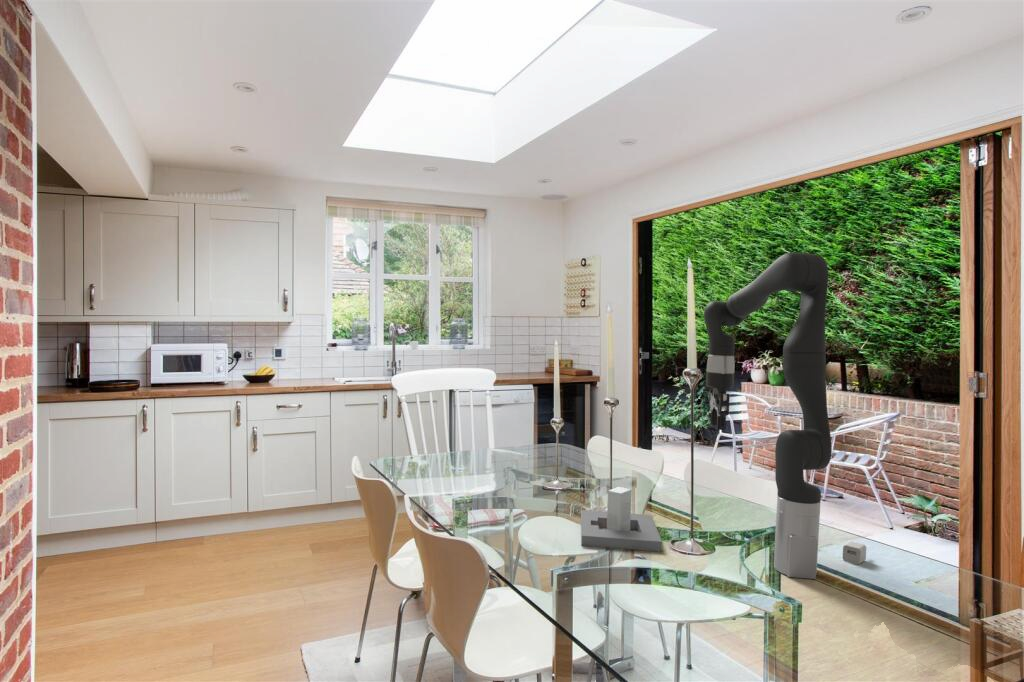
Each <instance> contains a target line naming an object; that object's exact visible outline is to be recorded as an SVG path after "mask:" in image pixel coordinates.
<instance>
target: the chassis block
mask: <svg viewBox="0 0 1024 682" xmlns="http://www.w3.org/2000/svg"><path fill="white" fill-rule="evenodd" d="M580 511H581V512H580V539H581V540H580V542H581V544H580V545H581V546H584V547H586V546H587V547H598V548H600V547H601V548H612V549H623V550H624V549H625V550H635V551H636V550H638V551H647V552H648V551H649V552H660V553H661V552H662V551H663V550H662V549H663V541H662V538H661V536H660V533H659V530H658V528H657V525H656V522H655V520H654V517H653V514H643V513H631V517H630V531H617V530H607V529H601V528H600V527H603V528H607V511H601V510H589V509H588V510H587V509H581V510H580ZM631 530H637V531H631Z"/></svg>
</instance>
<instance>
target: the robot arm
mask: <svg viewBox="0 0 1024 682" xmlns="http://www.w3.org/2000/svg"><path fill="white" fill-rule="evenodd" d="M828 284H829V269H828V263H827V261H826V259H825V258H824V257H823V256H822V255H820V254H817V253H807V252H796V251H795V252H787V253H784V254H782V255H781V256H779V257H778V258H776V259H775V260H774V261H773V262H772V263H771V264H770V265H769V266H768V267H766V269H765V270H764V271H762V272H761V274H759V275H758V276H757V277H756V278H755V279H754V280H753V281H751V282H750V283H749V284H747V285H746V286H744V287H742V288H741V289H739V290H738V291H736V292H733V293H732V294H731V295H729V297H728V299H727V300H726V301H717V300H714V301H710V302H708V303H707V304H706V306H705V308H704V311H703V317H704V324H705V327H706V333H707V337H708V342H709V343H708V356H707V357H708V358H707V362H706V380H705V381H706V382H705V385H706V387H708V388H710V389H709V401H708V402H709V403H708V408H709V411H710V421H709V422H710V423H709V424H710V425H713V426H716V429H717V430H718V431H720V430H721V431H724V430H726V426H727V424H726V423H727V417H728V416H729V415H730V396H731V395H730V393H727V389H733V388H735V386H734V384H735V365H736V364H735V346H736V345H735V344H736V340H735V337H734V336H732V335H730V334H727V333H724V332H725V331H724V330H723V328H722V327H735V326H738V325H740V324H741V323H743V321H744V320H745V319H746V318H747V317H748V316H749V315H751V314H753V313H755V312H757V311H758V310H760V309H761V308H763V307H764V306H765V305H766V304H767V302H768V301H769V297H770V295H772V294H774V293H777V292H781V291H788V292H799V293H800V307H799V314H798V317H797V319H796V320H795V323H794V324H793V326H792V328H791V330H790V331H789V333H788V335H787V336H786V338H785V340H784V344H783V347H782V371H783V377H784V379H785V381H786V383H787V385H788V386H789V388H790V390H791V392H792V393H793V395H794V397H795V398H796V400H797V402H798V403H799V407H800V409H801V413H802V419H803V420H802V421H803V429H788V430H784V431H782V432H780V433H779V435H778V436H777V439H776V443H775V448H774V449H775V451H774V452H775V454H774V456H775V464H774V465H775V466H774V467H775V468H774V469H775V470H774V471H775V476H774V477H775V484H776V487H777V494H776V495H777V500H776V515H775V517H776V518H775V534H774V551H773V553H774V555H773V556H774V557H773V568H774V569H775V570H776V571H777V572H778V573H780V574H783V575H785V576H786V577H788V578H798V579H799V578H800V579H811V580H816V579H817V575H818V574H817V573H818V558H819V557H818V553H819V539H820V538H819V537H820V531H819V530H820V518H821V517H820V515H821V500H822V499H821V497H822V491H821V489H820V488H819V487H817V485H816V486H815V485H813V484H811V483H808V482H806V481H805V477H804V470H805V471H808V470H809V471H814V470H815V471H817V470H818V471H819V470H820V471H821V470H823V469H825V468H827V467H828V465H829V464H830V462H831V459H832V451H833V450H832V449H833V448H832V437H831V429H830V421H829V413H828V404H827V403H828V402H827V401H828V399H827V382H826V381H827V375H826V373H827V356H826V355H827V352H826V350H827V349H826V309H827V298H828V287H829V285H828Z"/></svg>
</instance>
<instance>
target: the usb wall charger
mask: <svg viewBox="0 0 1024 682" xmlns="http://www.w3.org/2000/svg"><path fill="white" fill-rule="evenodd" d="M866 558H867V546H866V545H865V544H863V543H859V542H855V541H849V542H847V543H846V544H844V545H843V547H842V560H843V561H844V562H847V563H849V564H855V565H860V564H861V563H862V562H864V561H865V560H866Z"/></svg>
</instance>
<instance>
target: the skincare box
mask: <svg viewBox="0 0 1024 682" xmlns="http://www.w3.org/2000/svg"><path fill="white" fill-rule="evenodd" d="M606 509H607V510H606V512H607V527H606V530H617V531H630V532H631V529H630V517H631V514H632V513H631V512H632V489H631V488H626V487H622V486H617V487H614V488H611V489H609V490H607V508H606Z"/></svg>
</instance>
